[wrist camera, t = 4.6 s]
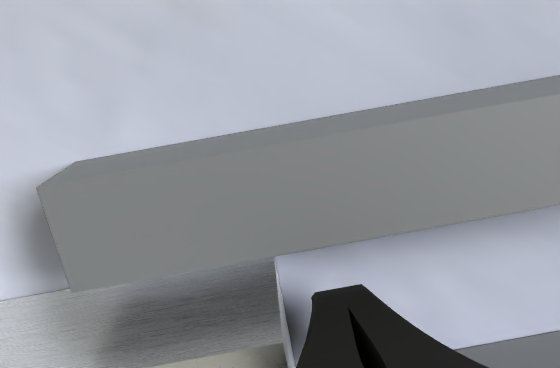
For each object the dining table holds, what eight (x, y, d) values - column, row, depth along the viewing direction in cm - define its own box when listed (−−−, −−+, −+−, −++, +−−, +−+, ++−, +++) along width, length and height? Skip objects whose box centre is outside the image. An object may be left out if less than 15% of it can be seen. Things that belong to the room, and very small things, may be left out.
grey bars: (683, 374, 14) (757, 431, 12) (170, 469, 14) (156, 543, 12) (714, 47, 12) (818, 47, 9) (75, 161, 11) (36, 187, 9)
